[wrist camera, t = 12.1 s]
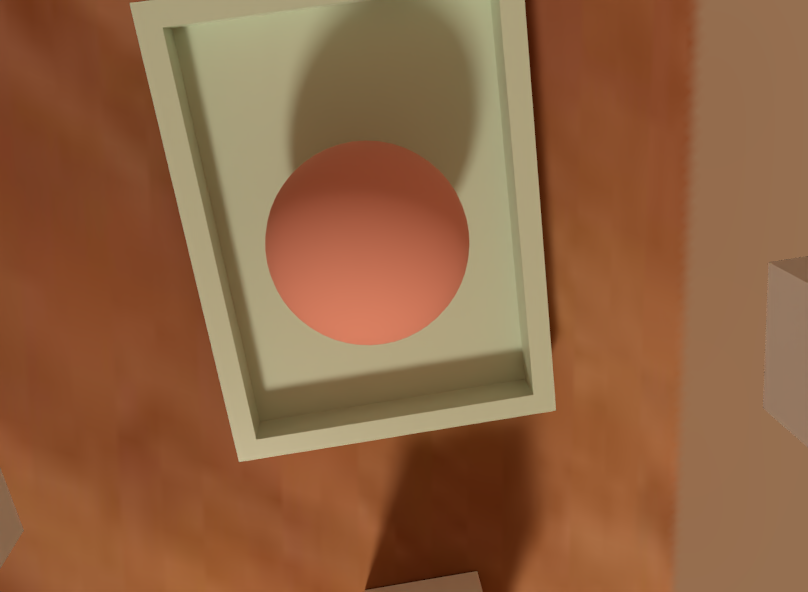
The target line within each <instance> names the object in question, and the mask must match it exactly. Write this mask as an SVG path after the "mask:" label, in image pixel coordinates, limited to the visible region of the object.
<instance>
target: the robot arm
mask: <svg viewBox="0 0 808 592" xmlns="http://www.w3.org/2000/svg"><path fill="white" fill-rule="evenodd" d="M765 346H766V347H765V371H764V397H763V399H764V400H763V408H764V409H765V410H766V411H767V412H768V413H769V414H770V415H772V416H773V417H774V418H775V419H776V420H777V421H778V422H780V423H781V424H782V425H783V426H784V427H785V428H786V429H788V430H789V431H790V432H791V433H792V434H793V435H794V436H795V437H797V438H798V439H799V440H800V441H801V442H802V443H804V444H805V445H806V446H807V447H808V256H805V257H799V258H793V259H786V260H780V261H774V262H769V267H768V294H767V320H766V345H765ZM23 531H24V530H23V527H22V524H21V522H20V519H19V516H18V514H17V511H16V508H15V506H14V503H13V500H12V498H11V495H10V492H9V490H8V487H7V484H6V482H5V479H4V476H3V474H2V471H1V468H0V568H1V566H2V565H3V563H4V561H5V560H6V558H7V557H8V555H9V553H10V552H11V550H12V549H13V547H14V545H15V544H16V542H17V541H18V539H19V537H20V536H21V534H22V532H23Z"/></svg>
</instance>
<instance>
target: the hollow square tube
mask: <svg viewBox="0 0 808 592" xmlns="http://www.w3.org/2000/svg"><path fill="white" fill-rule="evenodd" d="M365 592H483V591H482V587H481V583H480V579H479V576H478V572H477V571H474V572H469V573H463V574H457V575H451V576H445V577H439V578H433V579H427V580H421V581H415V582H410V583H404V584H398V585H392V586H386V587H380V588H374V589H368V590H365Z"/></svg>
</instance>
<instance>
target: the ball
mask: <svg viewBox="0 0 808 592" xmlns="http://www.w3.org/2000/svg"><path fill="white" fill-rule="evenodd" d="M265 251H266V259H267V264H268V268H269V272H270V275H271V278H272V280H273V282H274V285H275V287H276V289H277V291H278V293H279V295H280V296H281V298H282V300H283V301H284V302H285V304H286V305H287V306H288V308H289V309H290V310H291V311H292V312H293V313H294V314H295V315H296V316H297V317H298V318H299V319H300V320H301V321H302V322H304V323H305V324H306V325H308V326H309V327H310V328H312V329H314V330H315V331H317V332H319V333H321V334H322V335H324V336H327V337H329V338H332V339H334V340H337V341H341V342H345V343H350V344H356V345H378V344H386V343H390V342H395V341H398V340H401V339H404V338H407V337H409V336H411V335H413V334H415V333H417V332H419V331H420V330H422V329H423V328H425V327H426V326H428V325H429V324H430V323H431V322H433V321H434V320H435V319H436V318H437V317H438V316H439V315H440V314H441V313H442V312H443V311H444V310H445V309H446V308H447V306H448V305H449V304H450V302H451V301H452V299H453V298H454V296H455V295H456V293H457V291H458V289H459V287H460V285H461V283H462V280H463V277H464V275H465V271H466V267H467V262H468V256H469V230H468V224H467V219H466V216H465V213H464V209H463V206H462V204H461V202H460V200H459V198H458V195H457V193H456V191H455V190H454V188H453V187H452V185H451V184H450V182H449V181H448V180H447V179H446V177H445V176H444V175H443V174H442V173H441V172H440V171H439V170H438V169H437V168H436V167H435V166H434V165H432V164H431V163H430V162H429V161H427V160H426V159H424V158H423V157H421V156H420V155H418V154H417V153H415V152H412V151H410V150H408V149H406V148H404V147H401V146H398V145H395V144H391V143H386V142H381V141H366V140H365V141H352V142H348V143H343V144H339V145H336V146H333V147H330V148H327V149H325V150H323V151H321V152H319V153H317V154H316V155H314V156H312V157H311V158H310V159H308V160H307V161H305V162H304V163H303V164H302V165H300V166H299V167H298V168H297V169H296V170H295V171H294V172H293V173H292V174H291V175H290V177H289V178H288V179H287V180H286V182H285V183H284V184H283V186H282V187H281V189H280V191H279V192H278V194H277V195H276V198H275V200H274V202H273V205H272V207H271V210H270V213H269V217H268V221H267V228H266V235H265Z"/></svg>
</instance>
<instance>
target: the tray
mask: <svg viewBox="0 0 808 592" xmlns="http://www.w3.org/2000/svg"><path fill="white" fill-rule="evenodd" d="M130 8H131V12H132V16H133V20H134V24H135V28H136V33H137V37H138V41H139V45H140V49H141V54H142V58H143V62H144V66H145V70H146V74H147V79H148V83H149V87H150V91H151V95H152V100H153V104H154V108H155V112H156V116H157V121H158V125H159V129H160V133H161V137H162V141H163V146H164V150H165V154H166V158H167V162H168V167H169V171H170V175H171V179H172V183H173V188H174V192H175V196H176V200H177V204H178V208H179V213H180V217H181V221H182V225H183V229H184V234H185V238H186V242H187V246H188V250H189V255H190V259H191V263H192V267H193V271H194V275H195V280H196V284H197V288H198V292H199V296H200V301H201V305H202V309H203V313H204V317H205V322H206V326H207V330H208V334H209V338H210V342H211V347H212V351H213V355H214V359H215V363H216V368H217V372H218V376H219V380H220V384H221V388H222V393H223V397H224V401H225V405H226V409H227V414H228V418H229V422H230V426H231V430H232V435H233V439H234V443H235V447H236V451H237V455H238V460H239V462H242V461H248V460H254V459H260V458H267V457H273V456H279V455H285V454H291V453H297V452H304V451H310V450H316V449H322V448H328V447H334V446H341V445H347V444H353V443H359V442H365V441H371V440H377V439H384V438H390V437H396V436H402V435H408V434H414V433H421V432H427V431H433V430H439V429H445V428H451V427H458V426H464V425H470V424H476V423H482V422H488V421H494V420H501V419H507V418H513V417H519V416H525V415H531V414H538V413H544V412H550V411H556V404H555V391H554V378H553V365H552V352H551V339H550V325H549V312H548V299H547V286H546V273H545V260H544V247H543V233H542V220H541V207H540V194H539V181H538V168H537V154H536V141H535V128H534V115H533V102H532V89H531V76H530V62H529V49H528V36H527V23H526V10H525V0H149V1H142V2H135V3H130ZM365 140H366V141H381V142H386V143H391V144H395V145H398V146H401V147H404V148H406V149H408V150H410V151H412V152H415V153H417V154H418V155H420V156H421V157H423V158H424V159H426V160H427V161H429V162H430V163H431V164H432V165H434V166H435V167H436V168H437V169H438V170H439V171H440V172H441V173H442V174H443V175H444V176H445V177H446V179H447V180H448V181H449V182H450V184H451V185H452V187H453V188H454V190H455V191H456V193H457V195H458V198H459V200H460V202H461V204H462V206H463V209H464V213H465V216H466V219H467V224H468V230H469V256H468V262H467V267H466V271H465V275H464V277H463V280H462V283H461V285H460V287H459V289H458V291H457V293H456V295H455V296H454V298H453V299H452V301H451V302H450V304H449V305H448V306H447V308H446V309H445V310H444V311H443V312H442V313H441V314H440V315H439V316H438V317H437V318H436V319H435V320H434V321H433V322H431V323H430V324H429V325H428V326H426V327H425V328H423V329H422V330H420V331H419V332H417V333H415V334H413V335H411V336H409V337H407V338H404V339H401V340H398V341H395V342H390V343H386V344H378V345H356V344H350V343H345V342H341V341H337V340H334V339H332V338H329V337H327V336H324V335H322V334H321V333H319V332H317V331H315V330H314V329H312V328H310V327H309V326H308V325H306V324H305V323H304V322H302V321H301V320H300V319H299V318H298V317H297V316H296V315H295V314H294V313H293V312H292V311H291V310H290V309H289V308H288V306H287V305H286V304H285V302H284V301H283V300H282V298H281V296H280V295H279V293H278V291H277V289H276V287H275V285H274V282H273V280H272V278H271V275H270V272H269V268H268V264H267V259H266V251H265V235H266V228H267V221H268V217H269V213H270V210H271V207H272V205H273V202H274V200H275V198H276V195H277V194H278V192H279V191H280V189H281V187H282V186H283V184H284V183H285V182H286V180H287V179H288V178H289V177H290V175H291V174H292V173H293V172H294V171H295V170H296V169H297V168H298V167H299V166H300V165H302V164H303V163H304V162H305V161H307V160H308V159H310V158H311V157H312V156H314V155H316V154H317V153H319V152H321V151H323V150H325V149H327V148H330V147H333V146H336V145H339V144H343V143H348V142H352V141H365Z"/></svg>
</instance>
